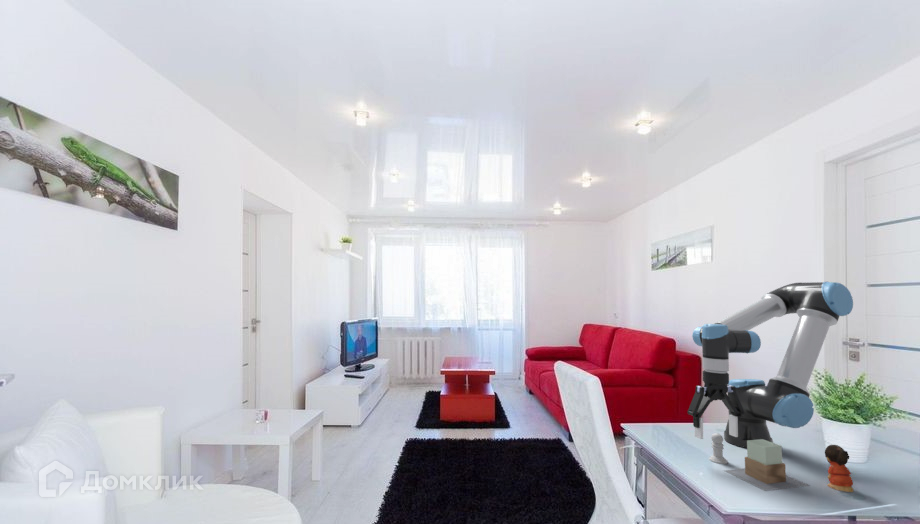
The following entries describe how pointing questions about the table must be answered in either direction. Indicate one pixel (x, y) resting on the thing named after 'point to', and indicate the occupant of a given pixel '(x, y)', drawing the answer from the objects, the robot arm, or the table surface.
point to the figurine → (838, 469)
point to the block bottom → (765, 471)
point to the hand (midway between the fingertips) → (716, 436)
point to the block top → (764, 452)
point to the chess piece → (717, 449)
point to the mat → (766, 487)
